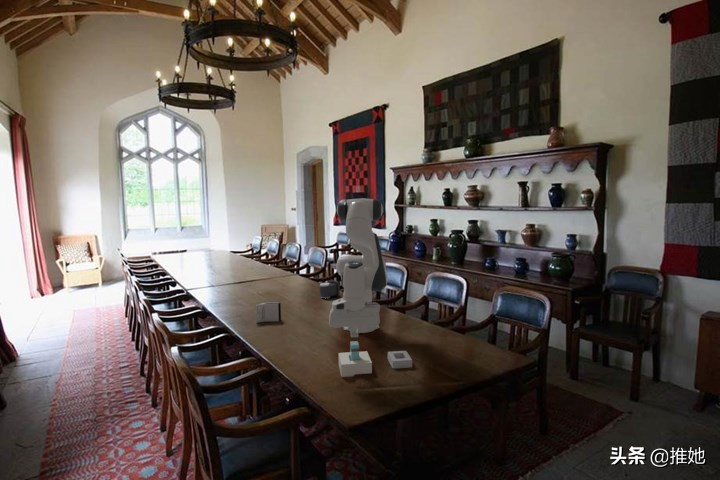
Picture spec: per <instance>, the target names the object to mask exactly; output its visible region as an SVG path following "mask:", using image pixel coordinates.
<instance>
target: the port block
mask: <svg viewBox="0 0 720 480" xmlns="http://www.w3.org/2000/svg"><path fill="white" fill-rule="evenodd" d="M338 368H339V373H340V376H341V377H340V378H349V377H355V375H363V374H367V375H368V374H373V362H372V360H371V357H370V355H369V353H368V351H367V350H366V351H359V360H356V361H350V351H349V352H348V351H347V352H346V351H345V352H338Z"/></svg>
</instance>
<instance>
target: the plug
mask: <svg viewBox="0 0 720 480" xmlns="http://www.w3.org/2000/svg"><path fill="white" fill-rule="evenodd" d="M349 342H350V343H349V352H350V361H356V360H359V352H360V344H359V341H358V340H357V341H355V340H354V341H349Z"/></svg>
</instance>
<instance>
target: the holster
mask: <svg viewBox="0 0 720 480" xmlns="http://www.w3.org/2000/svg"><path fill="white" fill-rule="evenodd" d="M387 360H388V363H389V364H390V366H391V368H392V369H404V368H405V369H406V368H409V369H410V368H413V359H412V358H411V356H410V354H409V353H408V352H407V350H397V351H394V350H393V351H387Z"/></svg>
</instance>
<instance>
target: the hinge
mask: <svg viewBox="0 0 720 480" xmlns="http://www.w3.org/2000/svg"><path fill="white" fill-rule="evenodd" d="M281 303H282V302H278V301H277V302H275V301H274V302H261V303H259V304H254V305H255V324H258V323H263V322H281V320H282V311H281V309H282V308H281V306H282V305H281Z"/></svg>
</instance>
